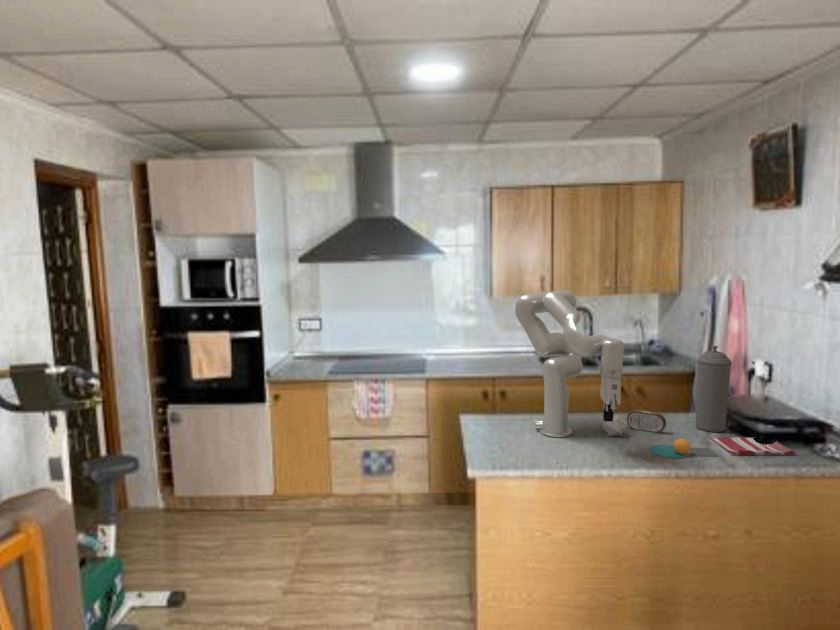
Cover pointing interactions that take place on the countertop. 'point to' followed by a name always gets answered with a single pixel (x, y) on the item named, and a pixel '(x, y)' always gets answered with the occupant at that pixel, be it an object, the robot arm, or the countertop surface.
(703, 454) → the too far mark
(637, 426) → the tin
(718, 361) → the canister
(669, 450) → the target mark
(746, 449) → the dish towel
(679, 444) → the ball
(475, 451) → the countertop surface
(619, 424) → the die
